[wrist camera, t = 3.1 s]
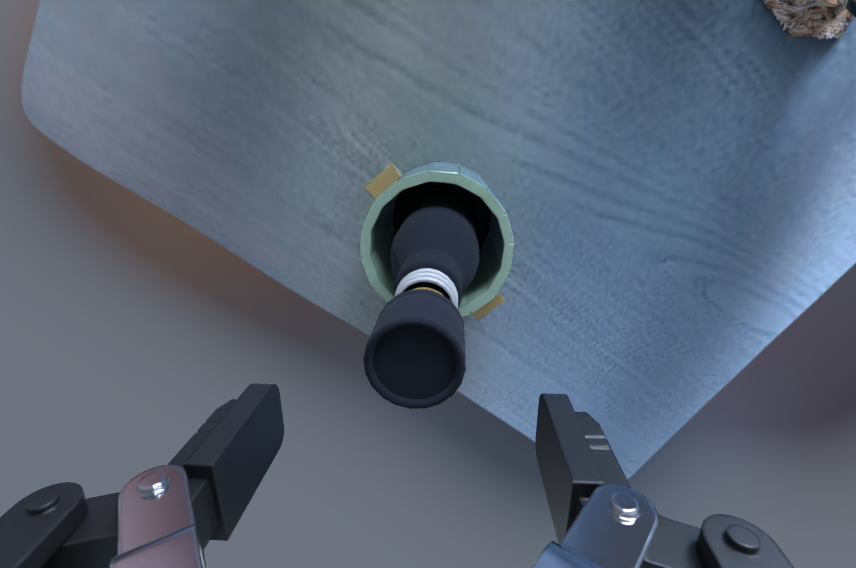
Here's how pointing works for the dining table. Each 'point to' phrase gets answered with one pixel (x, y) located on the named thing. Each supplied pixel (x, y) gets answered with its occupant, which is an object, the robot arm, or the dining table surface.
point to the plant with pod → (813, 16)
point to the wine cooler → (381, 233)
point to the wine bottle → (425, 304)
